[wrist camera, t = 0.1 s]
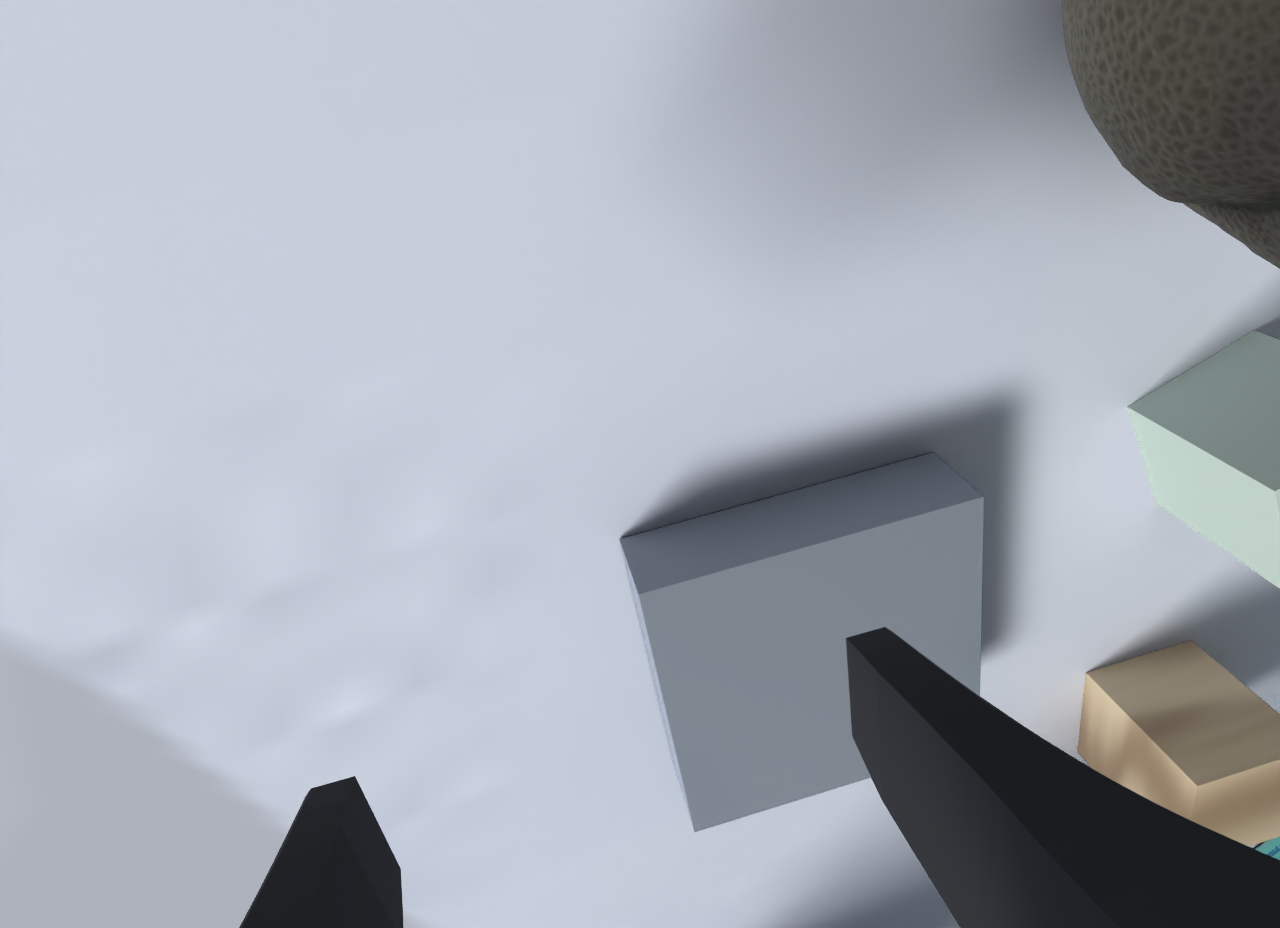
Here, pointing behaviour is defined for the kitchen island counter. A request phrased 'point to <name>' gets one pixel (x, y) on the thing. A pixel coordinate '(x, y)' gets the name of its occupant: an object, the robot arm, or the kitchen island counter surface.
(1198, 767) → the oak block
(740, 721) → the slate base
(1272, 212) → the cantaloupe
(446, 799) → the kitchen island counter surface
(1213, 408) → the sage block
